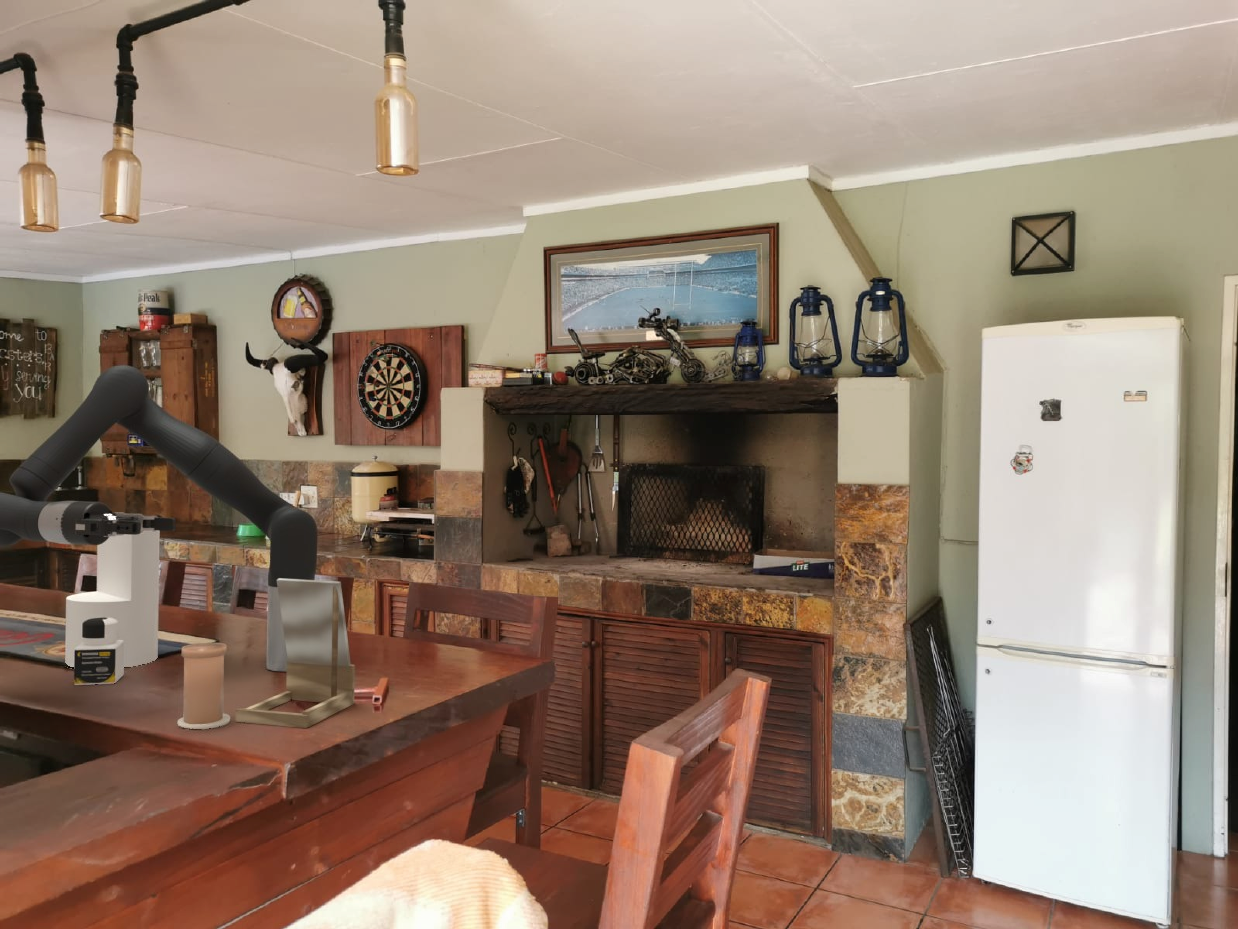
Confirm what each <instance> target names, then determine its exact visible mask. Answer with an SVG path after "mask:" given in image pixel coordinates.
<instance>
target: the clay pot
mask: <svg viewBox="0 0 1238 929" xmlns="http://www.w3.org/2000/svg"><path fill="white" fill-rule="evenodd" d="M227 651H228V650H227V644H225V643H221V642H197V643H193V644H192V643H191V644H187V645H184V646H182V647H181V657H183V712H182V714H183V715H182V716H183V721H184V722H185V723H188V724H207V723H213V722H217V721H219V720H221V719H223V713H224V679H225V678H224V677H225V676H224V671H225V670H224V667H225V664H224V663H225V662H224V661H225V660H224V659H225V655H226V654H227Z"/></svg>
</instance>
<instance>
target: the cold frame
mask: <svg viewBox="0 0 1238 929" xmlns="http://www.w3.org/2000/svg"><path fill="white" fill-rule="evenodd" d="M277 587H278V594H279V601H280V608H281V615H282V622H283V629H284V636H285V644H286V651H287V658H288V661H287V671H286V682H285V683H286V686H285V687H286V688H285V690H286V691H284V692H281V693H279V694H277V695H274V696H271V697H270V698H267V699H265V700H263V701H260V702H258V703H254V704H253V705H250V706H248V707H246V708H242V707H240V708H236V709H235V723H244V722H245V723H247V724H257V725H267V726H279V727H289V728H290V727H291V728H300V729H307V728H309V727H311V726H313V725H315V724H318V723H319V722H321V721H323V720H325V719H327V718H329V717H331V716H333V715H334V714H337V713H339V712H340V711H343V710H345V709H347V708H349V707H350V706H353V705H354V704H355V688H356V687H355V681H356V679H355V677H356V676H355V675H356V673H355V671H356V665H355V664H351V658H350V657H351V656H350V649H349V648H350V646H349V640H348V631H347V630H348V629H347V624H346V616H345V615H346V614H345V607H344V599H343V591H342V589H343V588H342V582H341V581H335V580H316V579H315V580H301V579H283V578H279V579H277ZM291 699H292V700H291ZM289 701H302V702H313V703H314V702H315V703H318V704H316V705H313V706H311V707H309V708H307V709H305V710H303V711H302V713H298V712H289V711H288V712H287V711H275V710H271V709H274V708H276V707H278V706H281V705H282V704H283V705H284V704H286V703H287V702H289Z"/></svg>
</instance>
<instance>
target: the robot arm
mask: <svg viewBox="0 0 1238 929" xmlns="http://www.w3.org/2000/svg"><path fill="white" fill-rule="evenodd" d="M149 393H150V386H149V382H148V379H147V377H146V376H145V374H144V373H143V372H142V371H141V370H139V369H138V368H137V367H134V366H131V365H125V364H121V365H114V366H111V367H109V368H107V369H105V370H104V371H102V372H101V374H99V376H98V377H97V378H96V381H95V382H94V384H93V387H92V388H91V391H90V392H89V394H88V395H87V397H86V398H85V399H84V401H82V403H81V404H80V405H79V407H77V409H76V410H75V411H74V413H73V414H72V415H70V416H69V418H68V419H66V421H65V422H64V423H62V425H61V426H60V427H59V428H57V430H55V431H54V432H53V433H52V434H51V435H50V436H49V437H48V438H47V439H46V440H45V441H44V442H43V443H42V444H40V446H38V448H36V449H35V450H34V451H33V452H32V453H31V454H30V455H29V456H28V457H27V458H26V459H24V461H23V462H22V463H21V464H20V465H19V466H18V467H17V468H16V469H15V470H14V471H13V473H12V474H11V475H10V477H9V484H10V485H11V487H12V489H13V491H14V493H15V495H14V494H10V493H5V492H1V491H0V548H4V547H5V548H6V547H10V546H13V545H15V544H17V543H19V542H21V541H23V539H25V540H27V541H33V542H42V543H43V542H46V543H47V542H48V543H56V544H61V545H74V546H75V545H77V546H97V545H100V544H102V543H104V542H105V541H106V540H107V539H108V538H109V537H110V536H116V535H124V534H130V535H137V534H141V533H142V532H143V531H157V530H160V531H161V532H162V531H164V532H174V531H175V530H176V523H177V522H176V521H177V520H176V518H175V517H163V516H162V515H160V514H157V515H153V514H152V515H148V514H147V515H145V514H144V515H143V514H142V513H125V512H121V511H120V512H116V511H115V512H112V510H111V508H110V507H109V506H108V505H107V504H105V503H104V502H100V501H83V500H82V501H81V500H80V501H79V500H76V501H75V500H62V501H48V498H49V497H50V496H51V495H52V494H53V492H55V491H56V490H57V489H58V487H59V486H61V484H62V483H63V482H64V481H65V480H66V479H67V478H68V477H69V475H70V474H71V473H72V472H73V471H74V470H75V469H76V467H78V465H79V464H80V463H81V461H82V460H83V459H84V458H85V456H86V455H87V454H88V453H89V451H90V450H92V448H93V446H94V445H95V444H96V443H97V442H98V441H99V440H100V439H101V438H102V437H103V436H104V435H105V433H107V432H108V431H109V430H110V429H111V428H112V427H113V426H114V425H115V424H117V425H119V426H120V427H123V428H124V429H126V430H127V431H129V432H131V433H132V434H133V435H135V436H136V437H138V438H139V439H140V440H142V441H143V442H145V443H146V444H147V445H149V446H150V447H151V448H152V450H154V451H155V452H157V454H159V455H160V456H161V457H162V458H163V459H164V460H166V462H168V463H169V464H170V465H172V466H173V467H174V468H175V469H177V470H178V471H179V472H180V473H181V474H183V475H184V476H186V477H187V478H188V479H189V480H190V481H191V482H192V483H194V484H195V485H196V486H198V487H199V488H200V489H202V490H203V491H204V492H206V493H208V494H210V496H212V497H213V498H215V499H217V500H218V501H220V502H222V503H224V504H225V505H227V506H229V507H230V508H233V509H234V510H235V511H237V512H239V513H240V514H242V515H243V516H244V517H245V518H247V519H248V520H249V521H250V522H251V523H252V524H253V525H254V526H256V528H257V529H259V531H261V532H262V533H263V534H264V535H265V536H266V538H268V540H270V542H269V543H270V544H269V545H270V546H269V548H270V550H269V567H268V574H267V610H266V611H267V615H266V618H267V620H266V621H267V622H266V625H267V627H266V629H267V630H266V667H265V668H266V669H267V670H270V671H273V672H287V661H288V658H287V651H286V644H285V636H284V629H283V622H282V615H281V608H280V601H279V594H278V587H277V579H279V578H283V579H301V580H316V579H315V578H316V574H317V572H316V571H317V567H318V566H317V564H318V563H317V562H318V538H319V537H318V536H319V534H318V526H317V522H316V520H315V519H314V517H313V516H312V515H311V514H310V513H309V512H307V511H306V510H303V509H301V508H299V507H297V506H295V505H293V504H291V503H290V502H288V501H287V500H285V499H284V498H282V497H281V496H279V495H278V494H276V493H275V492H274V491H272V490H271V489H270V488H268V487H267V486H266V485H265V484H264V483H262V481H261V480H260V479H259V478H258V476H256V474H255V473H254V472H253V471H252V470H251V469H250V468H249V467H248V466H247V465H246V464H245V463H244V462H243V461H242V460H241V459H240V458H239V457H238V456H236V455H235V453H233V452H232V451H231V450H229V449H228V447H227V448H226V447H225V446H224V444H222V443H221V442H219V440H217V439H215V438H214V437H213V436H211V435H210V434H208V433H207V432H204V431H202V429H198V428H197V427H194V426H193V425H190V424H188V423H186V422H184V421H182V420H180V419H178V418H176V417H175V416H173V415H171V414H170V413H168V412H167V411H166V410H165V409H164V408H162V407H161V406H160V404H158V403H157V402H155V401H154V400H153V398H151V397H150V396H149V395H150V394H149Z"/></svg>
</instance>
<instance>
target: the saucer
mask: <svg viewBox="0 0 1238 929" xmlns="http://www.w3.org/2000/svg"><path fill="white" fill-rule="evenodd" d="M230 722H231V716H230V715H229V714H228V713H224V712H223V719H221V720H219V721H217V722H213V723H207V724H188V723H185V722H184V721H183V717H180V718H179V719H177V724H178V726H181V727H184V728H190V729H192V728H193V729H202V730H209V728H211V729H216V728H219V726H220V727H223V726H227V724H229V723H230ZM177 724H176V725H177ZM178 726H177V727H178Z"/></svg>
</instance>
